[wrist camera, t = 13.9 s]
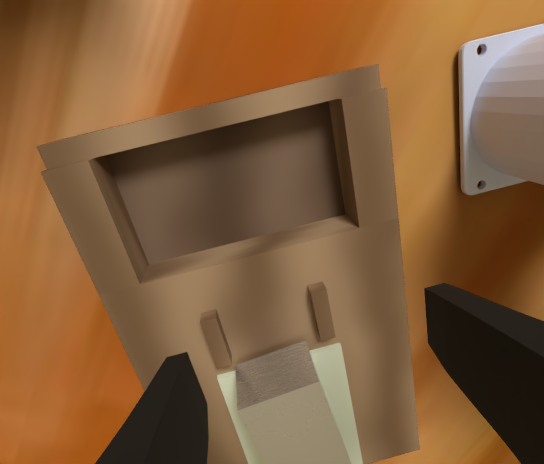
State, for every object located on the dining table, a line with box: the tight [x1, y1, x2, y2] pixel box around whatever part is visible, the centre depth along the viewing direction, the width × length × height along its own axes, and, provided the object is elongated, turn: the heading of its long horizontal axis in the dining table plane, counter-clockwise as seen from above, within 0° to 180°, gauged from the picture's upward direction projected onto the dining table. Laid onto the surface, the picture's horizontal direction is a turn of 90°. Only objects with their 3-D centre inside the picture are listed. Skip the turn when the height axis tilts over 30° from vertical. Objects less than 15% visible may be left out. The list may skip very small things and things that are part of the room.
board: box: [37, 64, 420, 464], centre depth 20 cm, size 15×24×4 cm, turn 13°
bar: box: [236, 340, 352, 464], centre depth 20 cm, size 4×11×3 cm, turn 19°
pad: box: [217, 343, 363, 464], centre depth 22 cm, size 7×10×1 cm
